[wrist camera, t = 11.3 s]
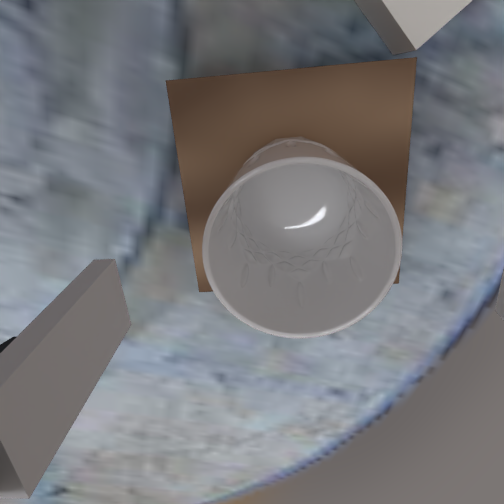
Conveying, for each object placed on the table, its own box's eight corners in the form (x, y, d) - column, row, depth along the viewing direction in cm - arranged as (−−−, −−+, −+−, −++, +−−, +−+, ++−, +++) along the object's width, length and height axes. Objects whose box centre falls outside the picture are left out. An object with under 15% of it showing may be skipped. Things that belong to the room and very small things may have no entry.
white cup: (377, 153, 23) (442, 202, 14) (323, 263, 26) (348, 361, 17) (254, 105, 22) (238, 124, 13) (214, 224, 26) (179, 304, 17)
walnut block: (187, 80, 28) (165, 80, 22) (387, 61, 26) (416, 57, 21) (212, 256, 33) (199, 291, 28) (377, 248, 32) (398, 283, 27)
